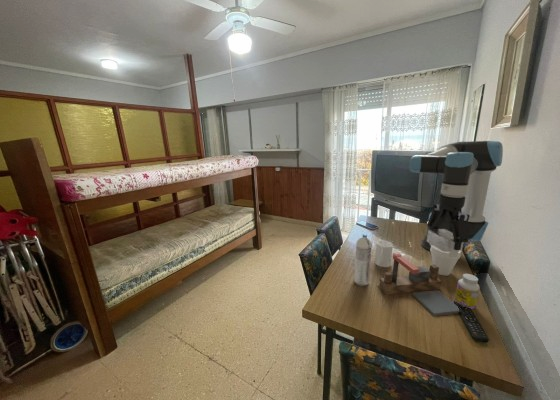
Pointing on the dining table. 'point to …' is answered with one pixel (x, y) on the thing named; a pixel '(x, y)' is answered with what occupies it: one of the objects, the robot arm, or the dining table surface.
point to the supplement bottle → (467, 291)
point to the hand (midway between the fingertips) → (442, 250)
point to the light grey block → (441, 239)
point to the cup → (443, 260)
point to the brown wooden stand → (410, 280)
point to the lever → (405, 263)
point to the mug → (383, 253)
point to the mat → (436, 302)
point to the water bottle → (362, 261)
